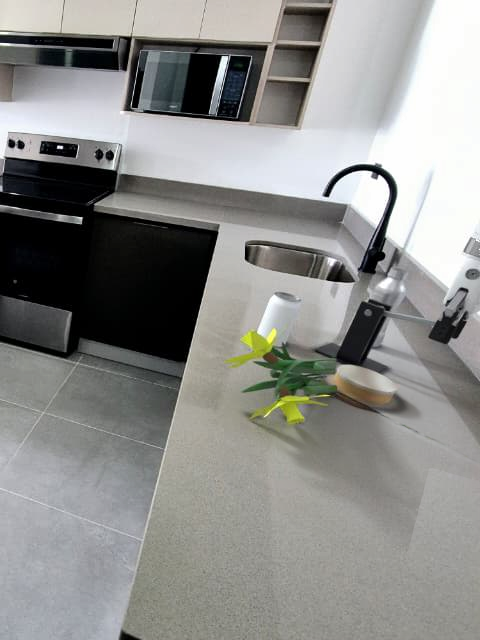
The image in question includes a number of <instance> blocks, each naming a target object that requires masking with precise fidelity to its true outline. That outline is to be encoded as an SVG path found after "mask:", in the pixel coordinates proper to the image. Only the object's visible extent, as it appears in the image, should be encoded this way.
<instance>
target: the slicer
mask: <svg viewBox="0 0 480 640" xmlns="http://www.w3.org/2000/svg"><path fill="white" fill-rule="evenodd" d="M377 305H378V306H377ZM380 306H383V307H384V308H383V307H380ZM391 308H392V306H391V305H388V304H385V303H382V302H379V301H376V300H373V299H371V298H368V300H367V301H365V300H362V301H361V302H360V304H359V306H358V308H357V310H356V312H355V315H354V317H353V319H352V321H351V323H350V325H349V327H348V329H347V331H346V334H345V335H344V338H343V340H342V342H341V344H340V345H339V344H336V343H333V342H331V343H327V344H325V345H323V346H321V347H318V348H315V349H314V353H317V354H319V355H322V356H324V357H325V358H335V359H337V360H336V361H335V362H336V363H339V364H340V365H354V366H359V367H363V368H366V369H369V370H372V371H375V372H377V373H379V374H380V373H381V372H383V371H385V370H387V368H388V367H389V366H388V365H385V364H383V363H381V362H378V361H376V360H374V359H372V358H369V354H370V353H371V351H372V349H373V345H374V343H375V341H376V339H377V337H378V335H379V333H380V331H381V329H382V327H383V325H384V323H385V321H386V319H387V317H386V316H382V315H383V313H384V311H389V312H390V311H391Z"/></svg>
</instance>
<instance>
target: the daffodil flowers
mask: <svg viewBox="0 0 480 640" xmlns="http://www.w3.org/2000/svg"><path fill="white" fill-rule="evenodd" d="M291 319H292V318H291ZM291 319H290V320H291ZM288 323H289V322H288ZM288 323H287V324H288ZM285 328H286V327H285ZM282 332H283V331H282ZM282 332H281V333H282ZM281 333H280V334H281ZM280 334H279V335H278V336H277V337H276V338H275V339H274V340H273V338H274V337H275V335H276V330H275V328H274V329H273V330H272V332H271V333H270V335H269V337H268V338H267V340H266V339H265V338H264V337H263V336H261V335H260V334H258V333H257V331H256V330H255V329H254V328H251V329H250V331H247V333H245V334H244V335H243V336H242V337H241V338H240V339H239V340H240V342H242V343H244V344H245V345H246V346H248V347H249V348H251V349H252V350H253V351H251V352H248V353H245V354H241V355H239V356H235V357H232V358H228V359H226V360H224V361H222V363H228V364H233V365H232V366H229V367H228V368H226V369H225V371H227V370H230V369H234V368H239V367H241V366H243V365H244V364H246V363H248V362H249V361H252V360H253V361H252V363H253V364H256V365H258V366H261V367H263V368H265V369H269V375H270V377H271V378H272V380H265V381H261V382H258V383H256V384H252V385H251V386H249V387H247V388H245V389H243V390H242V391H240V393H242V394H245V393H246V394H247V393H252V392H258V391H263V390H270V389H274V392H273V400H275V401H274V402H273V403H272V404H270V405H268V406H265V407H263V408H260V409H259V410H256V411H255V412H253V414H252V415H251V417H249V420H251V419H254V418H256V417H258V416H262V415H263V414H265V413H266V414H265V415H264V416H263V418H265V417H267V416H268V415H270V413H271V412H272V411H273V410H275V409H277V408H280V410H281V411H282V413H283V415H284V416H285V417H286V424H287V425H291V426H292V425H296V424H302V423H303V422H305V421H306V419H305V417H304V416H303V415H302V413H301V412H300V411H299V406H298V405H305V404H310V405H313V404H314V405H315V404H316V405H320V406H327V407H328V406H329V404H326V403H323V402H320V401H316V400H311V399H310V398H321V397H330V396H332V397H333V396H334V395H332V394H331V392H338V388H337V386H336V385H334V384H328V383H327V382H326V381H325V380H321V379H327V378H328V376H327V375H334V376H335V374H336V372H337V368H338V364H337V363H338V362H337V361H336V360H337V359H335V358H328V357H320V358H309V359H297V358H294V357H292V356H290V354H289V352H288V349H287V347H286V344H284V343H283V342H282V347H281V351H280V350H278V349H277V348H276V347H275V346H273V345H274V343H275V341H276V340H277V338H278V337H279V336H280ZM272 340H273V341H272ZM255 359H263V361H259V360H256V361H255ZM331 361H333V362H331ZM299 390H301V391H302V390H303V391H304V394H305V396H297V395H296V394H297V391H299ZM317 394H319V395H317ZM328 394H331V395H328ZM306 395H312V396H306Z"/></svg>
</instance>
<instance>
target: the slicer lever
mask: <svg viewBox="0 0 480 640" xmlns="http://www.w3.org/2000/svg"><path fill="white" fill-rule="evenodd" d="M377 306H378V305H377ZM380 307H383V306H380ZM383 308H384V307H383ZM382 316H386V317H391V319H396V320H400V321H407V322H411V323H415V324H421V325H425V326H431V327H434V325H435V323H436V321H437V320H435V319H430V318H425V317H419V316H415V315H409V314H406V313H405V314H404V313H399V312H396V311H395V312H389V311H384V313H383V315H382ZM456 326H459V324H458V323H457V325H456Z"/></svg>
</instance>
